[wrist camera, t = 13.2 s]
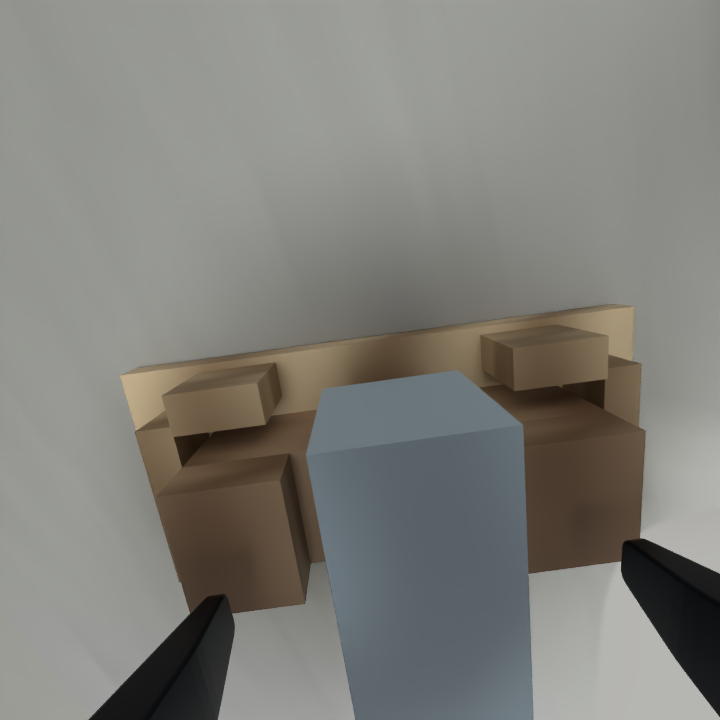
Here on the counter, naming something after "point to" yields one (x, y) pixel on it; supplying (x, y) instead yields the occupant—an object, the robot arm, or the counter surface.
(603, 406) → the jig
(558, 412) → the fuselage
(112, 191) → the counter surface
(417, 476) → the light blue block
